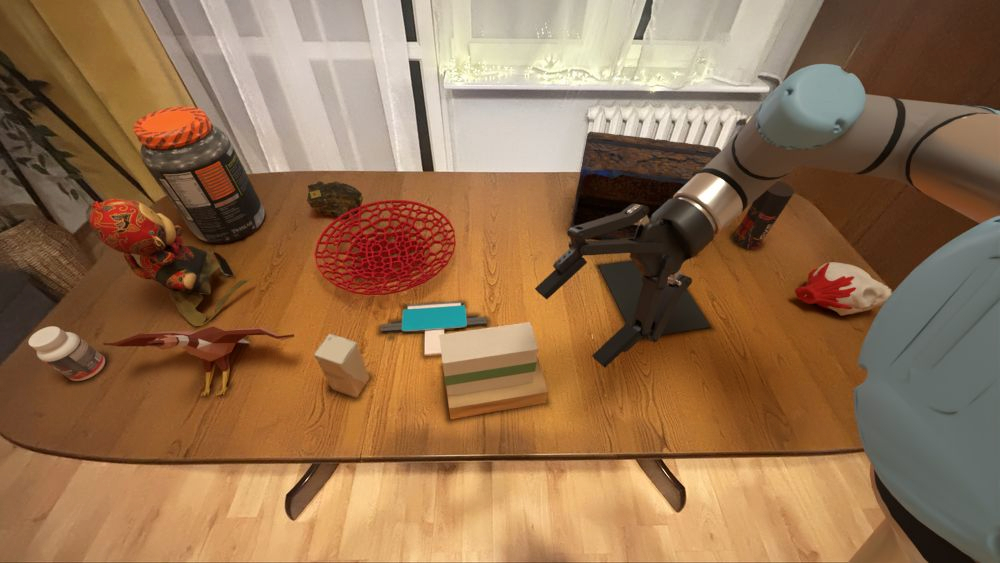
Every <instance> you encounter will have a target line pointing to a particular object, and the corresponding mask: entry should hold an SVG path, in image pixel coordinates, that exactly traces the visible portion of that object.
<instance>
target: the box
mask: <svg viewBox="0 0 1000 563" xmlns="http://www.w3.org/2000/svg"><path fill="white" fill-rule="evenodd" d="M313 355H314V358H315V359H316V361H317V363H318V365H319V367H320V369H321V371H322V372H323V374H324V377H325V378H326V380H327V383H328V384H329V386H330V388H331V389H332V390H333V391H336V392H339V393H340V394H341V393H342V394H345V395H347V396H350V397H353V398H358V397H359V396H360V394H361V393H362V391H363V389H364V388H365V386H366V384H367V383H368V381H369V379H370V375H369V372H368V370H367V367H366V364H365V360H364V358H363V355H362V353H361V352H360V348H359V346H358V343H357V341H354V340H351V339H349V338H346V337H342V336H339V335H336V334H333V333H328V334H327V336H325V338H324V339H323V341H322V342H321V343H320V344H319V346H318V347H317V349H316V351H315V352H314V354H313Z"/></svg>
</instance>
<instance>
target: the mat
mask: <svg viewBox="0 0 1000 563" xmlns="http://www.w3.org/2000/svg"><path fill="white" fill-rule="evenodd" d="M597 267H598V269H599V271H600V273H601V275H602V277H603V280H604V281H605V284H606V286H607V287H608V289H609V291H610V293H611V295H612V298H613V299H614V302H615V303H616V306H617V307H618V310H619V312H620V313H621V316H622V319H623V320H624V322H625V324H626V323H627V324H628V325H630V326H631V327H632V323H633V319H634V315H635V312H636V308H637V304H638V301H639V297H640V293H641V289H642V286H643V283H642V276H643V274H642V273H640V271H639V270H638V268H637V265H636V263H635V262H634V261H632V260H625V261H617V262H609V263H601V264H598V265H597ZM669 277H670V275H669ZM657 278H658V277H655V278H653V279H655V280H657ZM711 328H712V326H711V324H710V323H709V321H708V320H707V318H706V317H705V315H704V313H703V312H702V311H701V309H700V307H699V306H698V304H697V303H696V301H695V299H694V298H693V297H692V295H691V293H690V292H689V290H688V288H687V289H686V290H685V291H684V292H683V293H682V295H681V297H680V299H679V301H678V303H677V305H676V307H675V309H674V311H673V313H672V315H671V317H670V319H669V321H668V323H667V324H666V326H665V328H664V330H663V332H662V334H661V336H667V335H674V334H680V333H687V332H691V331H692V332H694V331H698V330H699V331H700V330H706V329H711ZM652 331H653V330H652Z"/></svg>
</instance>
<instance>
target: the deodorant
mask: <svg viewBox="0 0 1000 563" xmlns="http://www.w3.org/2000/svg"><path fill="white" fill-rule="evenodd" d="M794 194H795V190H794V188H793V187H792V186H791V185H789V184H788V183H786V182H783V181H780V180H779V181H777V182H776V183H775V184H773V185H772V186H771V187H770V188H769V189H767V190H766V191H765V192H764V193H763V194H762V195H761V196H759V197H758V198H757V199H756V200H755V201H754V202H753V203H751V204H750V206H749V208H748V210H747V212H746V213H745V215H744V217H743V219H742V220H741V222H740V224H739V225H738V227H737V229H736V231H735V233H734V234H733V236H732V240H733V242H734V243H735V244H736V245H737V246H739V247H740V248H742V249H745V250H757V249H758V248H759V247H760V246H761V244H762V243H763V241H764V240H765V238H766V237H767V235H768V233H770V230H772V228H773V226H774V225H775V223H776V221H777V220H778V219H779V217H780V215H781V214H782V212H783V210H784V209H786V208H785V207H786V206H787V205H788V203H789V202H790V200H791V199H792V197H793V195H794Z"/></svg>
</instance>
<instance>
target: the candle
mask: <svg viewBox="0 0 1000 563" xmlns="http://www.w3.org/2000/svg"><path fill="white" fill-rule="evenodd" d="M794 291H795V292H794V293H795V295H796V298H797V299H799V300H801V302H803V303H806V304H808V305H813V304H816V305H818V306H819V307H822V308H824V309H827V310H829V309H830V310H832V311H833V312H836V313H837V314H838V315H839V316H841V317H842V316H846V315H853V314H857V313H862V312H867V311H870V310H872V309H874V308H877V307H882V306H883V305H884V303H885V302H886V301H887V299H888V298H889V297H890V295H891V294H892V293H893V292H892V288H889V286H887V285H885V284H883V282H881V281H878V280H876V279H874V278H873V277H871V275H870V274H869V273H868V272H867V271H865V270H863V268H861V267H858V266H856V265H853V264H850V263H843V262H838V261H837V262H835V261H830V262H826V263H824V264H822V265H820V266H819V267H818V268H814V269H812V270H811V271H810V272H809V273H808V277H807V283H806V285H805V286H799V287H797V288H795V290H794Z"/></svg>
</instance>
